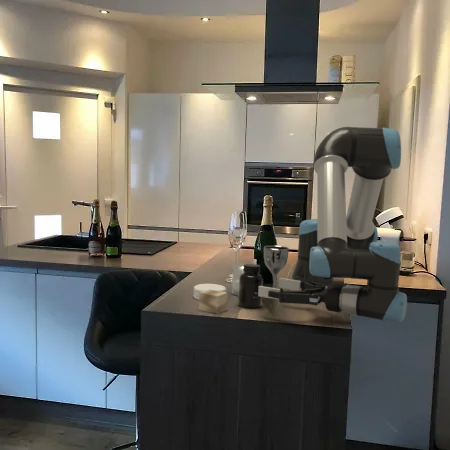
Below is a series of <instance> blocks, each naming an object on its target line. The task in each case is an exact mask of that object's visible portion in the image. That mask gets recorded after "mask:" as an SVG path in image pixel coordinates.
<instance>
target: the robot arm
mask: <svg viewBox="0 0 450 450" xmlns="http://www.w3.org/2000/svg"><path fill="white" fill-rule="evenodd" d="M401 156H402V142H401V135H400V133H399V131H398V130H397V129H395V128H388V127H384V126H383V127H359V126H358V127H357V126H355V127H353V126H343V127H339V128H337V129H335V130H333V131H331V132H329V133H328V134H327V135H326V136H325V137H324V138H323V139H322V140H321V142H320V143H319V145H318V147H317V148H316V151H315V153H314V157H313V170H314V172H315V173H316V174H317V183H316V184H317V194H316V196H317V200H316V201H317V205H316V206H317V208H316V209H317V210H316V212H317V217H316V218H312V219H305V220H303V221H301V222H300V224H299V229H298V247H297V248H298V249H297V250H298V251H297V262H296V264H295V267H294V269H293V271H292V274H291V279H290V278H284V277H279V278H278V288H277V287H275V288H273V287H270V286H264V285H263V286H259V290H258V296H260V297H262V298H267V299H273V300H278V303H281V304H295V305H297V304H298V305H301V304H303V305H312V306H318V305H319V304H321V303H324V305H325V308H326V310H327V311H330V312H334V313H340V314H341V313H343V314H347V315H351V317H352V318H355V317H356V316H358V317H363V318H364V317H365V318H368V319H374V320H380V321H383V322H390V323H391V322H392V323H401V322H403V321H404V319H405V318H406V317H405V316H406V315H407V313H406V312H407V308H408V296H407V294H406V293H404V292H401V291H399V290H400V289H399V284H400V283H399V281H400V273H401V272H400V271H401V263H402V261H401V255H402V253H401V247H400V245H398V244H397V243H393V242H387V241H378V237H379V235H378V233H379V232H378V228H377V226H376V225H375V224H374V222H373V219H374V215H375V211H376V207H377V204H378V200H379V196H380V192H381V190H382V186H383V182H384V179H385V178H388V177H389V175H390V174H391V171H392V170H396V169H399V168H400V165H401V161H402V157H401ZM349 168H352V171H353V173H355V174H354V177H353V183H352V187H351V192H350V198H349V203H348V207H347V206H346V205H347V201H346V200H347V199H346V177H345V173H346V172H347V171H348V169H349ZM337 278H338V279H339V278H340V279H353V280H354V279H355V280H366V281H367V282H366V286H367V287H364V286H363V285H361V286H360V285H352V284H346V285H345V284H343V283H340V282H335V279H337ZM284 289H285V290H284ZM286 289H288V290H286Z"/></svg>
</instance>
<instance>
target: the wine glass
mask: <svg viewBox="0 0 450 450" xmlns="http://www.w3.org/2000/svg"><path fill="white" fill-rule="evenodd" d="M288 257H289V247H287V246H284V245H265V246H264V247H263V259H264V264H265V266H266V267H267V268H268V270H269V271H270V273H271V274H272V282H273V283H272V288H276V285H277V284H276V283H277V277H278V276H279V273H281V271H282V270H283V269H284V268H285V267H286V265H287V262H288Z"/></svg>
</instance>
